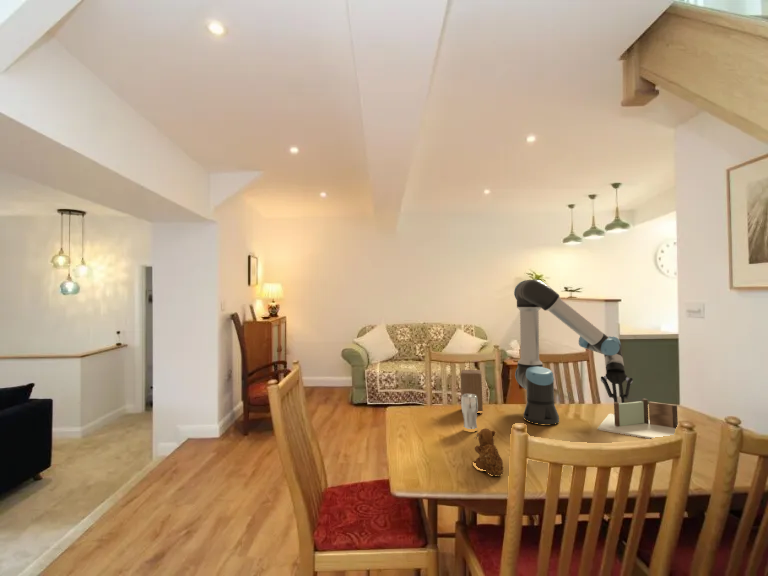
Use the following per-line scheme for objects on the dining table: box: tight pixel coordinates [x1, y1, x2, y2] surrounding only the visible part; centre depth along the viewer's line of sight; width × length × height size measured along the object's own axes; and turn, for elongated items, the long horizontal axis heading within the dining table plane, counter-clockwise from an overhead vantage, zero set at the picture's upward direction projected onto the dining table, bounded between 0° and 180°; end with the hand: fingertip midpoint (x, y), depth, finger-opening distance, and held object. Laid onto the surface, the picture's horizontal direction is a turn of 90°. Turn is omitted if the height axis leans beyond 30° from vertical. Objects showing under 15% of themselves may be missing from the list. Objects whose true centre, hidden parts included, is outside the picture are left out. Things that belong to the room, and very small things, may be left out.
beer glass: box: [460, 394, 478, 429], centre depth 169 cm, size 7×7×15 cm
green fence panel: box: [613, 400, 644, 426], centre depth 167 cm, size 14×2×10 cm, turn 101°
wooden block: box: [460, 369, 484, 411], centre depth 195 cm, size 10×10×20 cm
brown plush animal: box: [472, 428, 504, 476], centre depth 129 cm, size 10×14×13 cm
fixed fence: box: [641, 398, 679, 428], centre depth 165 cm, size 12×2×11 cm, turn 50°
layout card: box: [597, 413, 676, 440], centre depth 165 cm, size 27×24×1 cm
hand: (620, 411), depth 169 cm, fingers closed
